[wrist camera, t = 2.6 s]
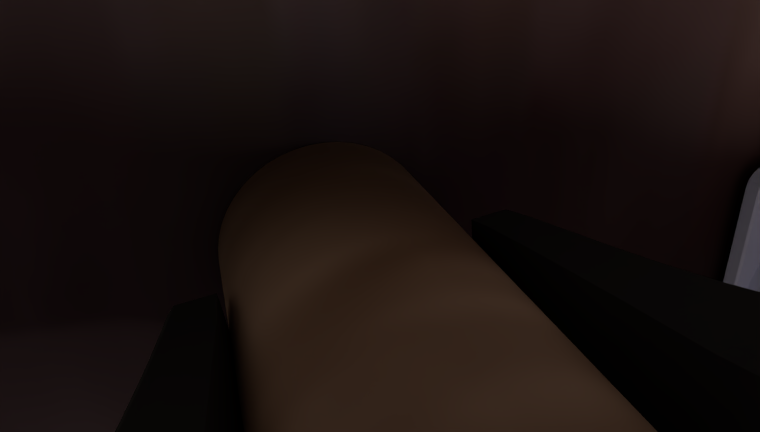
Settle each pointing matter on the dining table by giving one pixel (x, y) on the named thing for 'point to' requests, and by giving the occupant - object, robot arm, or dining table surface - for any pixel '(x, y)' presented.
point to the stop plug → (388, 313)
